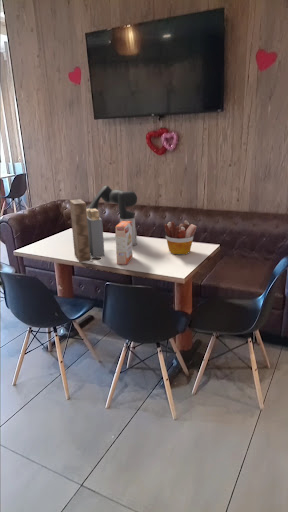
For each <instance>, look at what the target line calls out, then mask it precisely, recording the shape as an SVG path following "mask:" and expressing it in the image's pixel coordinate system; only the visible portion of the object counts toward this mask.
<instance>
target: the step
mask: <svg viewBox="0 0 288 512" xmlns="http://www.w3.org/2000/svg"><path fill="white" fill-rule="evenodd" d="M87 226H88V238H89V251H90V256H91V257H92V258H93V259H94V258H101V257H102V258H103V257H105V244H104V241H105V240H104V229H103V228H104V227H103V219H102V218H101V217H100V216H99V220H94V221H92V220H91V219H90V218H88V217H87Z"/></svg>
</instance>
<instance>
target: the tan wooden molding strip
mask: <svg viewBox="0 0 288 512" xmlns="http://www.w3.org/2000/svg"><path fill="white" fill-rule="evenodd" d="M86 213H87V217H88V218H90V219H91V220H92V221H94V220H99V217H100V211H99V210H97V209H87V208H86Z"/></svg>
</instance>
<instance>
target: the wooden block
mask: <svg viewBox="0 0 288 512" xmlns="http://www.w3.org/2000/svg"><path fill="white" fill-rule="evenodd" d="M69 205H70V206H69V207H70V209H69V210H70V218H71V230H72V239H73V250H74V251H73V252H74V256H75V258H76V259H77V261H78V262H79V263H81V262H82V263H83V262H88V261H91V254H90V251H89V238H88V226H87V213H86V209H87V203H86V202H85V201H83V199H81V198H79V199H70V200H69Z"/></svg>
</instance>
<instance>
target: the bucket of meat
mask: <svg viewBox="0 0 288 512" xmlns="http://www.w3.org/2000/svg"><path fill="white" fill-rule="evenodd" d="M183 222H184V223H179V225H176V224H175V223H176V222H175V221H169V222H168V223H167V224H166V223H165V224H164V225H163V226H164V231H165V234H166V235H165V239H166V243H167V248H168V251H169V252H170V254H172V253H173V254H172V255H175V254H185V255H187V254H186V253H188V252H189V253H191V248H192V245H193V240H194V236H195V233H196V230H197V225H195V224H193V223H191V224H190V223H189V221H188V220H184V221H183ZM189 253H188V254H189Z"/></svg>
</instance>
